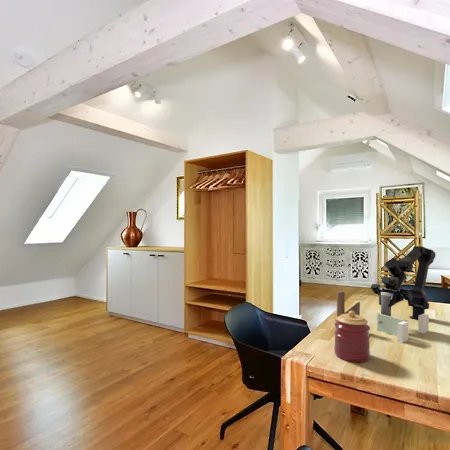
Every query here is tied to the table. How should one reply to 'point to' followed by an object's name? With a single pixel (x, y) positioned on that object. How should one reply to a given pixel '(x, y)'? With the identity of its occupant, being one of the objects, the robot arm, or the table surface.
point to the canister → (352, 337)
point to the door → (388, 324)
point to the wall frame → (422, 327)
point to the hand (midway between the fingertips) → (384, 305)
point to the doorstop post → (385, 303)
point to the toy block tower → (342, 305)
